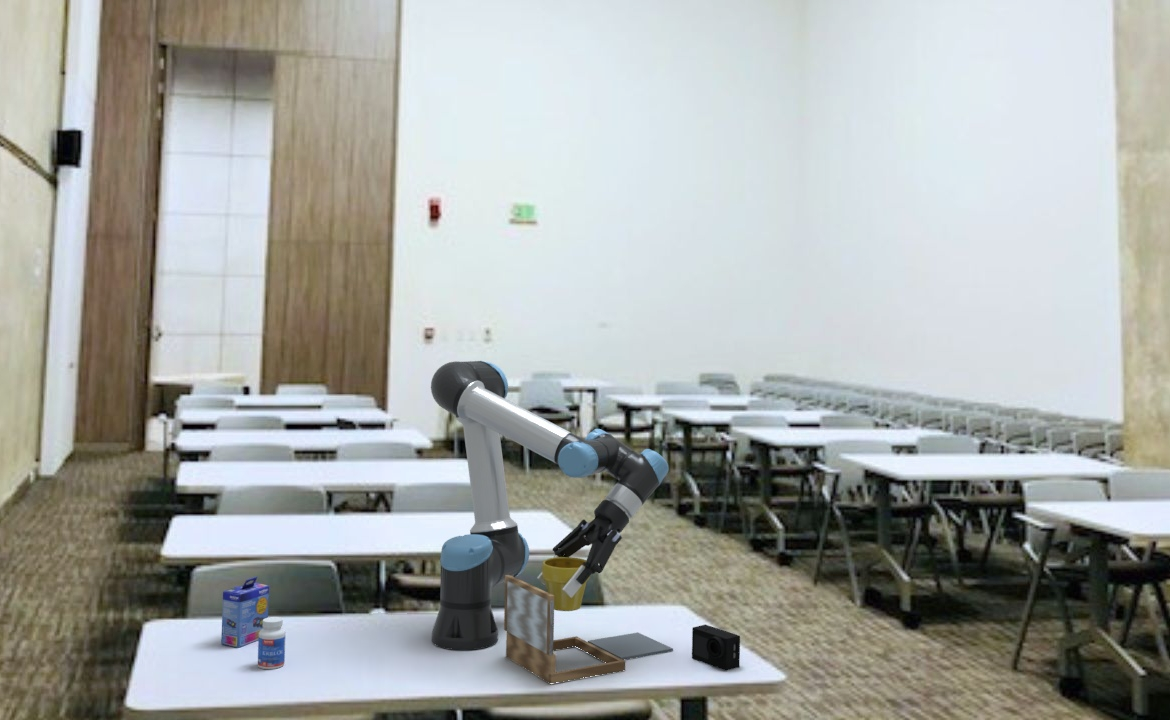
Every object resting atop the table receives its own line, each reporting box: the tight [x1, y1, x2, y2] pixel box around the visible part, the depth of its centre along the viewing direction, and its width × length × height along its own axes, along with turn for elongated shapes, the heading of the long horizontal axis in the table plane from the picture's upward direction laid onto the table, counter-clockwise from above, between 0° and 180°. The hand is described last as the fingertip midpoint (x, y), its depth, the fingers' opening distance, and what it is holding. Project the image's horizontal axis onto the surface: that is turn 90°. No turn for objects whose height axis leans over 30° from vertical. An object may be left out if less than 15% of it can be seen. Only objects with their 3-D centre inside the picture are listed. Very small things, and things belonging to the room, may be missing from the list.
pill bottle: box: [257, 616, 286, 670], centre depth 205 cm, size 6×5×10 cm
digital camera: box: [691, 624, 741, 672], centre depth 212 cm, size 10×5×7 cm, turn 39°
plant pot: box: [541, 556, 591, 612], centre depth 210 cm, size 10×10×10 cm
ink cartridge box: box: [220, 576, 270, 649], centre depth 222 cm, size 10×6×14 cm, turn 158°
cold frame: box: [503, 575, 626, 684], centre depth 210 cm, size 20×19×18 cm
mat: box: [587, 632, 674, 661], centre depth 223 cm, size 14×14×1 cm
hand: (553, 587), depth 208 cm, fingers closed on plant pot, 10 cm apart
